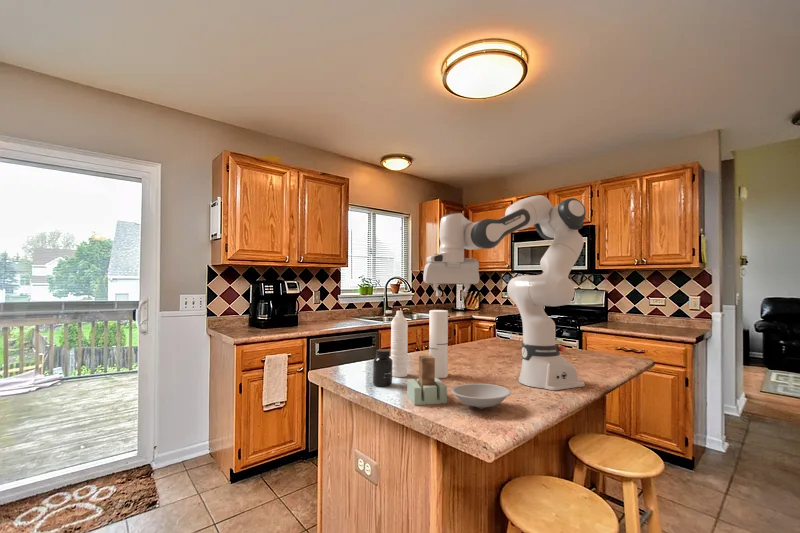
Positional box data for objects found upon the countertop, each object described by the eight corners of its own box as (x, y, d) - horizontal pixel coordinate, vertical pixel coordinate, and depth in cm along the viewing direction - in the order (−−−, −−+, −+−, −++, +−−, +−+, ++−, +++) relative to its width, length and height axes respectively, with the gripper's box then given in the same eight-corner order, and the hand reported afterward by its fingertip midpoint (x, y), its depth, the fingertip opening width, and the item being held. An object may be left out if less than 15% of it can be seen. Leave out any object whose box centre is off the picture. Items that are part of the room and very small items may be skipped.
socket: (436, 393, 123) (437, 377, 123) (446, 403, 113) (446, 386, 113) (407, 394, 121) (407, 379, 121) (414, 405, 111) (414, 388, 111)
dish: (497, 398, 118) (497, 382, 118) (521, 414, 104) (521, 396, 104) (444, 401, 115) (444, 385, 115) (461, 419, 101) (461, 400, 101)
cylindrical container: (448, 378, 141) (448, 311, 142) (429, 378, 141) (430, 311, 142) (446, 373, 148) (446, 310, 149) (428, 373, 148) (428, 309, 149)
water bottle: (404, 372, 149) (405, 309, 149) (409, 377, 142) (409, 311, 143) (383, 374, 146) (383, 309, 147) (387, 378, 140) (387, 311, 141)
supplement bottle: (389, 387, 128) (390, 352, 129) (370, 386, 130) (370, 351, 130) (394, 382, 135) (394, 348, 135) (375, 381, 136) (376, 348, 137)
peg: (430, 393, 119) (431, 355, 120) (434, 397, 115) (434, 358, 116) (418, 394, 118) (418, 355, 119) (421, 398, 114) (422, 358, 115)
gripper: (475, 258, 140) (475, 296, 139) (422, 257, 136) (421, 296, 135) (482, 257, 133) (482, 296, 133) (426, 256, 129) (426, 297, 129)
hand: (451, 296), depth 134 cm, fingers open, 8 cm apart
